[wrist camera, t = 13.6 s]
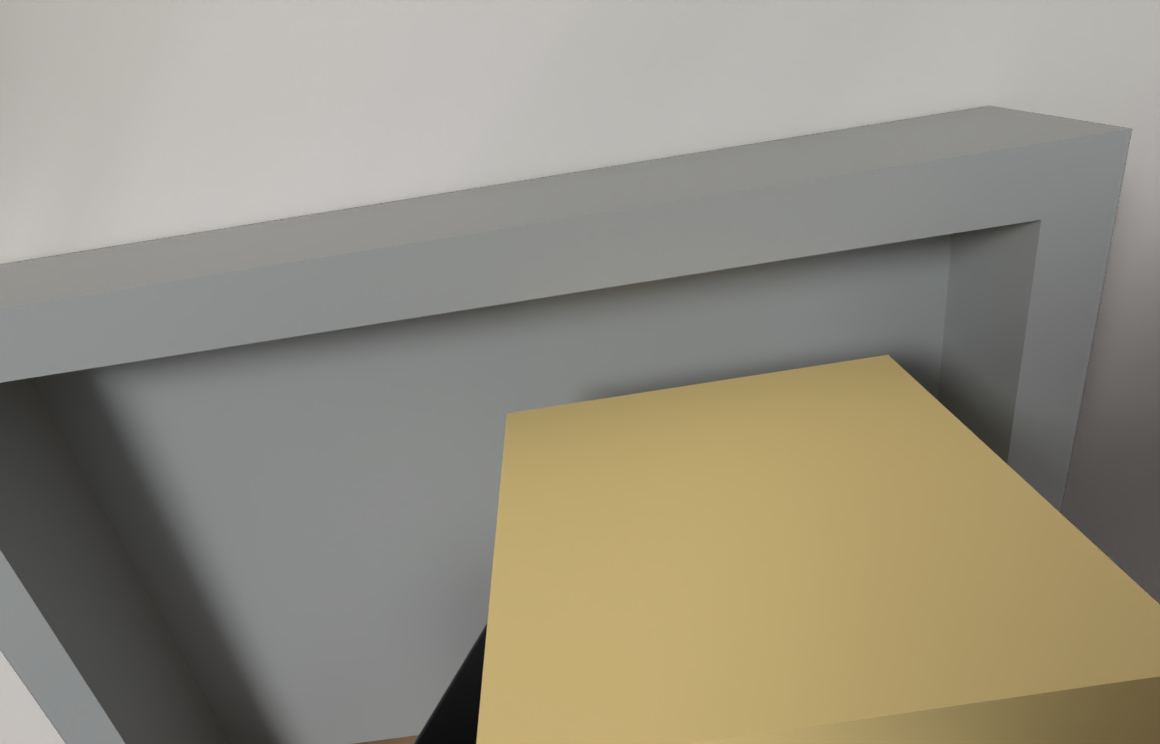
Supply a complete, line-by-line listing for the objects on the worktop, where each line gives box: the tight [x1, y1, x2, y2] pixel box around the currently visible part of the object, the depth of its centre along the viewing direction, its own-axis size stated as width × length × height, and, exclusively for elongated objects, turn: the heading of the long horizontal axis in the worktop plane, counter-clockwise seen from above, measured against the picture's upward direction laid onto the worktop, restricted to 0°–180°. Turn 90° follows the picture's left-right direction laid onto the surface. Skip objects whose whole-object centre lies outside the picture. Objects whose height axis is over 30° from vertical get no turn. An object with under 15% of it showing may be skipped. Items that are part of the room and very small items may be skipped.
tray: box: [0, 106, 1132, 744], centre depth 12 cm, size 14×16×2 cm
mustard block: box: [476, 355, 1160, 744], centre depth 7 cm, size 4×4×4 cm
